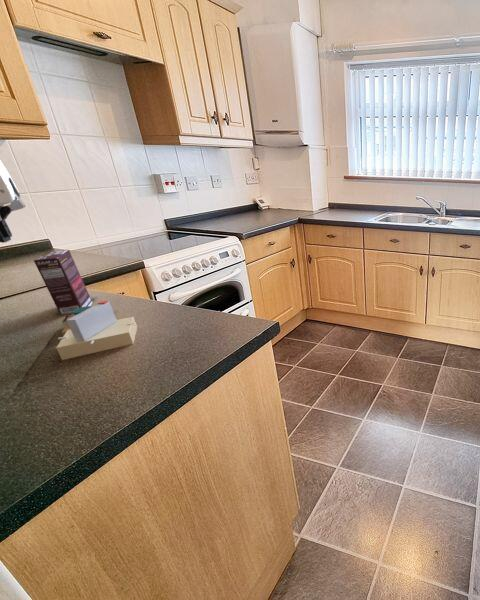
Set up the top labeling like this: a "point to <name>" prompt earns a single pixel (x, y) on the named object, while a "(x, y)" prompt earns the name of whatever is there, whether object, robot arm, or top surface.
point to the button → (80, 310)
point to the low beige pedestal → (99, 339)
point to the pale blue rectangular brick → (92, 321)
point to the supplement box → (63, 281)
